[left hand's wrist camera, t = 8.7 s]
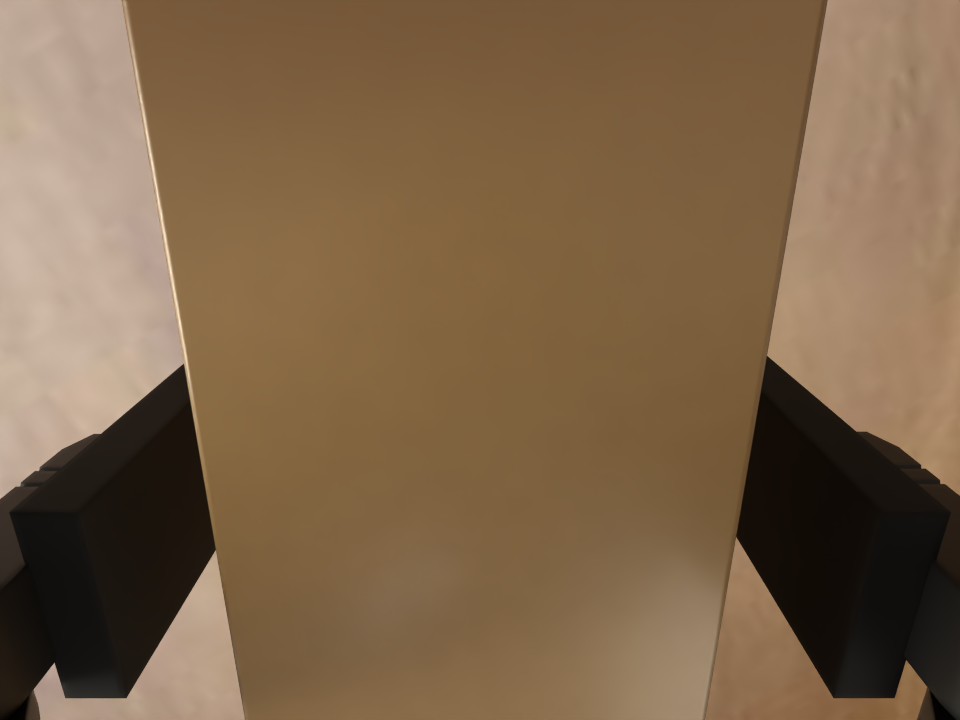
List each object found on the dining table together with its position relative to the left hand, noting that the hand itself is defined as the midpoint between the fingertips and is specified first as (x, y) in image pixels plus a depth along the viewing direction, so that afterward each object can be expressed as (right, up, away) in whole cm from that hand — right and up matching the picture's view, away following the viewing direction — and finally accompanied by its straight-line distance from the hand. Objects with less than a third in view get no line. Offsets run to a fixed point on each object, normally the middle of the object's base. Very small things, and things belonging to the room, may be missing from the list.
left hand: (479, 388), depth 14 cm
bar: (0, +7, -1) cm, 8 cm away
